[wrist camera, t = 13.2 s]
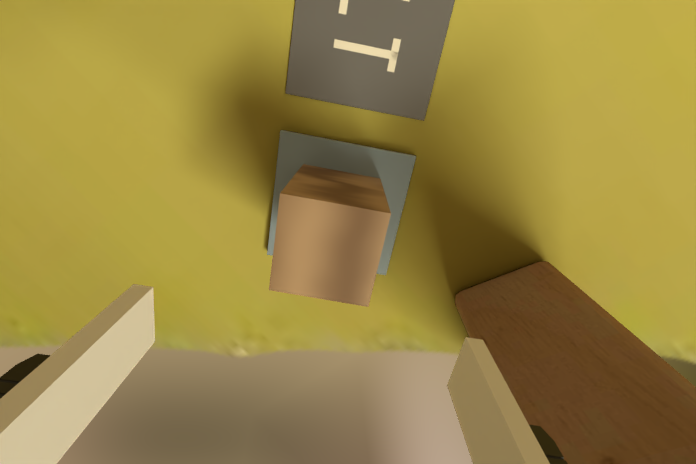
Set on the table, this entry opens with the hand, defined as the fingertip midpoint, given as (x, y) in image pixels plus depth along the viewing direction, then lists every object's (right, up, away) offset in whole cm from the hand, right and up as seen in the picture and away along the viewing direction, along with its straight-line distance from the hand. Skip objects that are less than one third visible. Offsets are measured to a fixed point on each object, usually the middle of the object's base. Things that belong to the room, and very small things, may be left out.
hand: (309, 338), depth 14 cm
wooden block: (+19, -4, +22) cm, 29 cm away
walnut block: (0, +7, +17) cm, 19 cm away
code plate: (+3, +21, +12) cm, 24 cm away
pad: (+1, +7, +18) cm, 19 cm away
